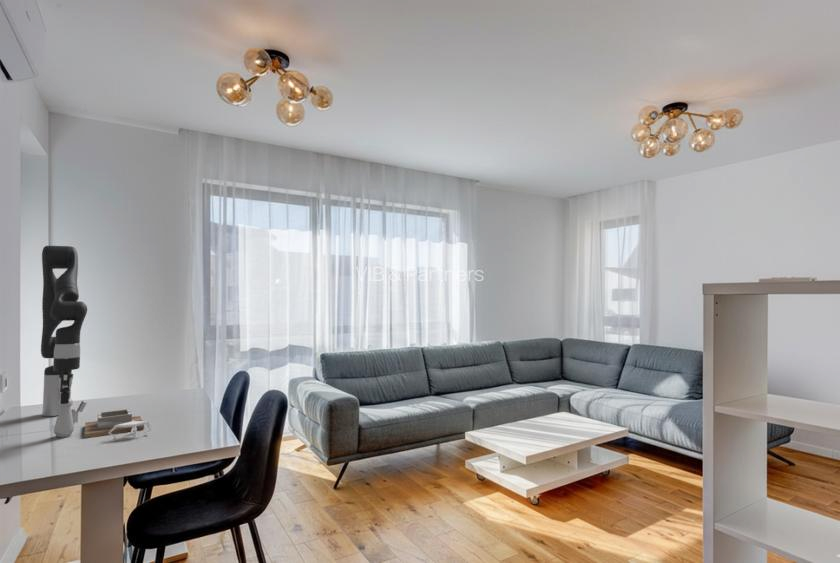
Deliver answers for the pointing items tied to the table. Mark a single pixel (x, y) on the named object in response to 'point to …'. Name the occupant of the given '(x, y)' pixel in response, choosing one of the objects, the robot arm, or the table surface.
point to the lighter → (75, 413)
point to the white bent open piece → (133, 424)
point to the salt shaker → (64, 420)
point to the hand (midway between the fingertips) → (65, 401)
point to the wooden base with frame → (111, 423)
